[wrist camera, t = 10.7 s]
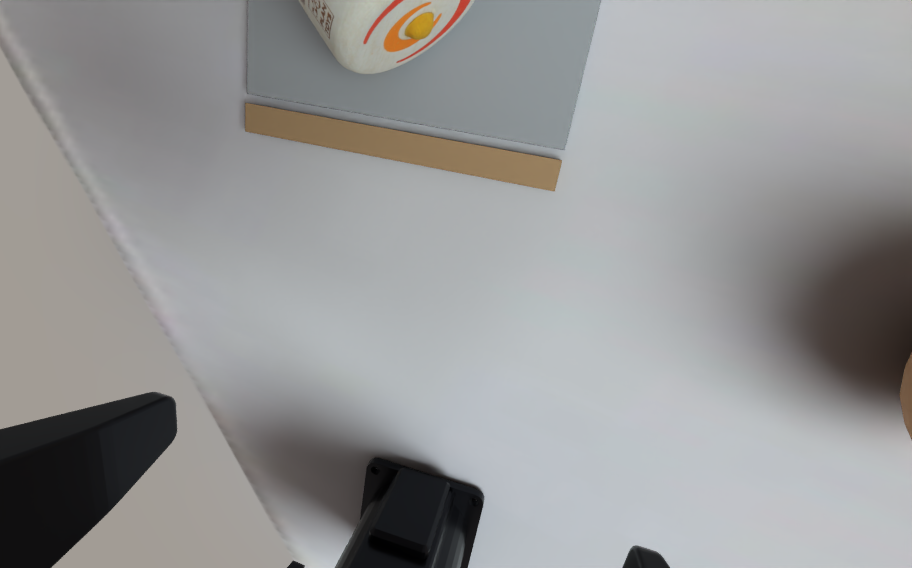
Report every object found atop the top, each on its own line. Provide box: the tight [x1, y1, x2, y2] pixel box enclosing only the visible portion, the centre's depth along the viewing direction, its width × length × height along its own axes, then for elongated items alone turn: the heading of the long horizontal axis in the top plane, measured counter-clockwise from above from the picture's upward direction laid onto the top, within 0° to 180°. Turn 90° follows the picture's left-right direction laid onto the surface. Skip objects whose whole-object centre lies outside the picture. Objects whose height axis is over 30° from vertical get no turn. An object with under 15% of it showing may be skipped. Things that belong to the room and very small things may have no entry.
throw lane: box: [245, 0, 601, 191], centre depth 16 cm, size 11×14×1 cm
